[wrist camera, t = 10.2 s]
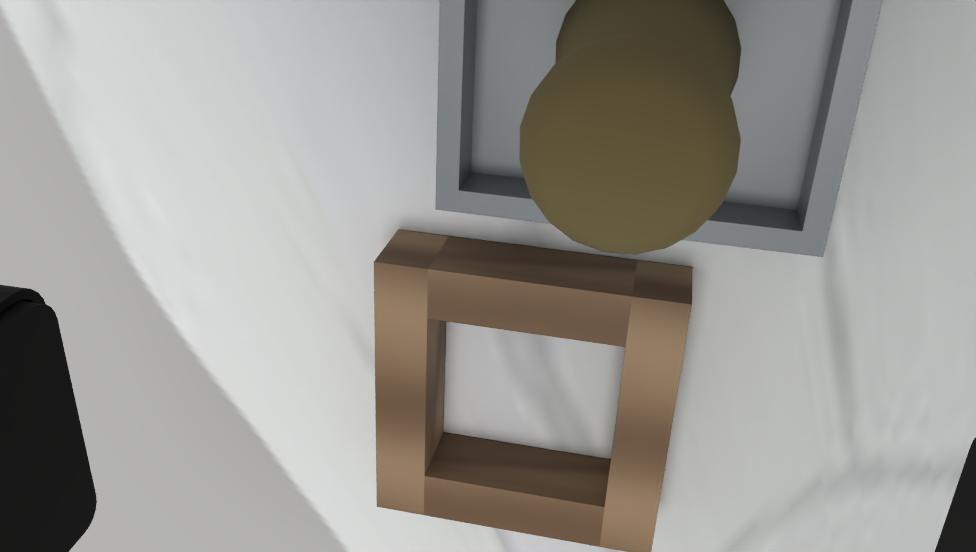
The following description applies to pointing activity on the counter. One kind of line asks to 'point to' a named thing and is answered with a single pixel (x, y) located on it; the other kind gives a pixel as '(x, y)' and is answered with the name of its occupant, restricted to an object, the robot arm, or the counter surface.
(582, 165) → the cork
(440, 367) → the socket block
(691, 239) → the tray
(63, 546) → the robot arm
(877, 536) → the counter surface
